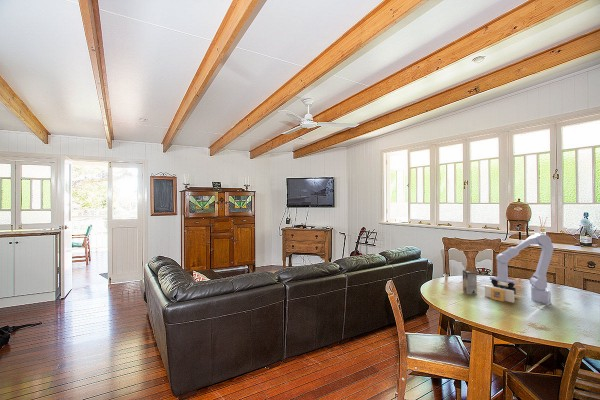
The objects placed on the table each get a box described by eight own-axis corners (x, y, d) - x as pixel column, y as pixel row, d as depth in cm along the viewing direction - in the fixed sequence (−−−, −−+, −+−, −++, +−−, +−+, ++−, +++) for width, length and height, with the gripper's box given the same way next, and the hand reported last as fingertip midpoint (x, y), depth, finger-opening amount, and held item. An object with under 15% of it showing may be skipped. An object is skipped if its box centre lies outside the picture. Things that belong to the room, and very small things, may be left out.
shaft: (516, 294, 191) (516, 287, 191) (506, 299, 180) (505, 292, 181) (497, 290, 200) (497, 283, 200) (486, 295, 189) (486, 288, 189)
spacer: (504, 301, 184) (504, 290, 184) (503, 301, 183) (503, 290, 183) (491, 298, 190) (491, 287, 190) (490, 298, 189) (490, 287, 189)
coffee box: (462, 292, 208) (462, 269, 208) (472, 292, 206) (471, 270, 206) (467, 296, 199) (466, 272, 199) (477, 296, 197) (477, 273, 197)
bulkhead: (514, 304, 182) (514, 290, 182) (513, 305, 181) (513, 291, 181) (486, 297, 195) (486, 285, 195) (484, 298, 194) (484, 285, 194)
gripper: (487, 271, 195) (488, 291, 195) (513, 275, 184) (513, 296, 183) (492, 269, 199) (492, 289, 199) (517, 273, 188) (517, 294, 188)
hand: (502, 292), depth 192 cm, fingers open, 7 cm apart
